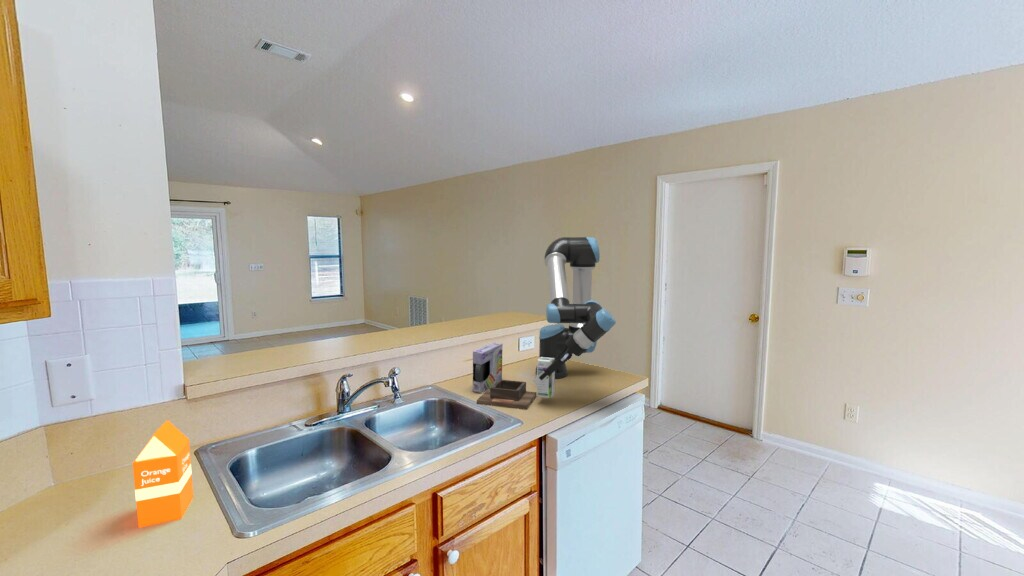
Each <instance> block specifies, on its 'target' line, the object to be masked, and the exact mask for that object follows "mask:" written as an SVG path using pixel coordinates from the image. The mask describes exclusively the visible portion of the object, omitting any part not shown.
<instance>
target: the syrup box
mask: <svg viewBox="0 0 1024 576" xmlns="http://www.w3.org/2000/svg"><path fill="white" fill-rule="evenodd" d="M536 361H537V363H536V367H537V376H538V375H539V374H540V373H541V372H543V369H547V368H548V367H549V366H550V365H551V364H552V363H553V362H554V361H555V358H547V357H540V358H539V357H538V359H537V360H536ZM537 376H536V377H537ZM555 380H556V379H555V371H554V372H553V373H552V374H551V375H550V376H548V377H547V378H546V379H545V380H544V381H542V382H541V383H540V384H539V385H538V386H536V397H540V398H541V397H542V398H547V399H552V397H553V396H554V395H555Z"/></svg>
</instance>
